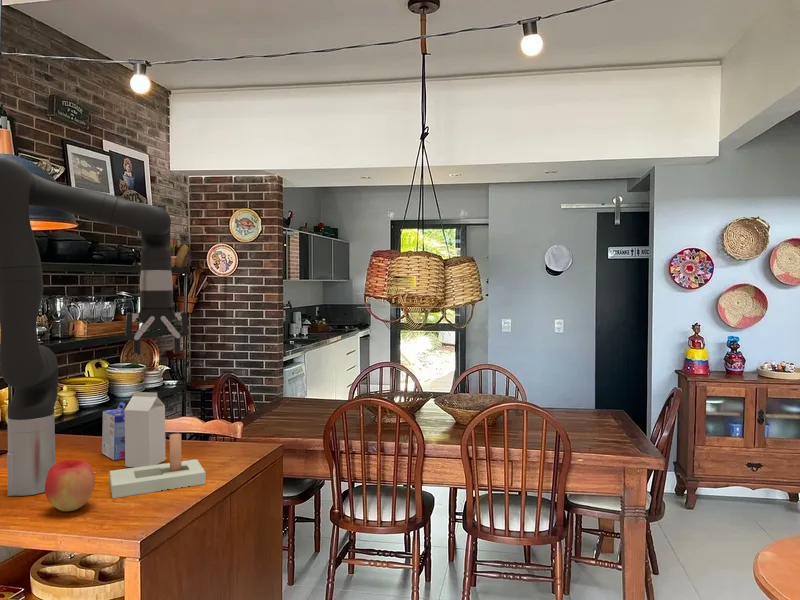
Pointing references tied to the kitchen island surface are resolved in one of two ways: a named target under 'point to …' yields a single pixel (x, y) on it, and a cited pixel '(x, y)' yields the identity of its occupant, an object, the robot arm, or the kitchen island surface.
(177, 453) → the headed peg
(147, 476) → the keyhole board
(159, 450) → the milk carton
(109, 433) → the ink cartridge box
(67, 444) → the kitchen island surface
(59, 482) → the apple
